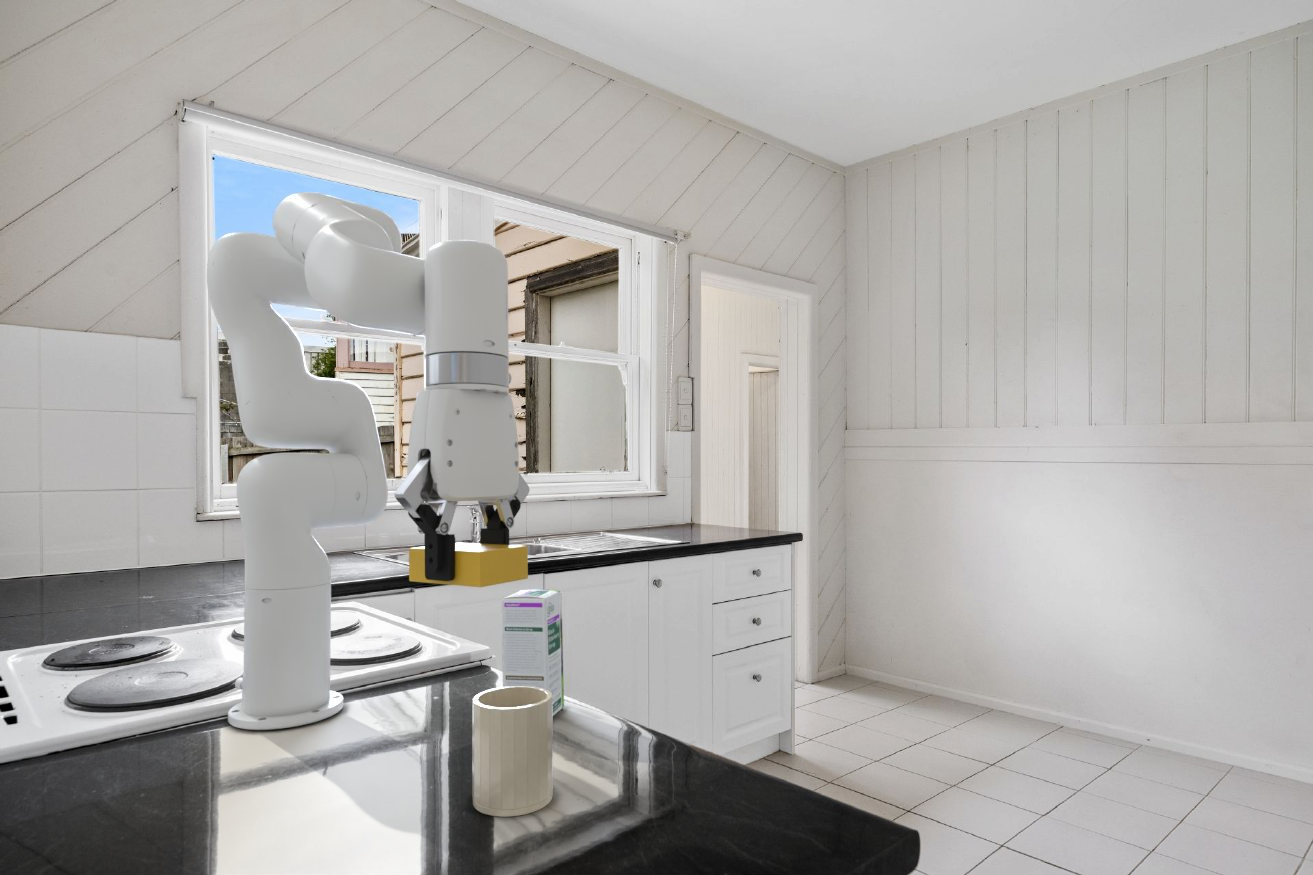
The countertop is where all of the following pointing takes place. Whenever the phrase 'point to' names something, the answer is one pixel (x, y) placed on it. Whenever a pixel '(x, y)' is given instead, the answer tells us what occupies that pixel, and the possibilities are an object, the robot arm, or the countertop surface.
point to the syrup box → (534, 641)
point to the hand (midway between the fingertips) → (468, 573)
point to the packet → (477, 564)
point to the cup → (512, 750)
